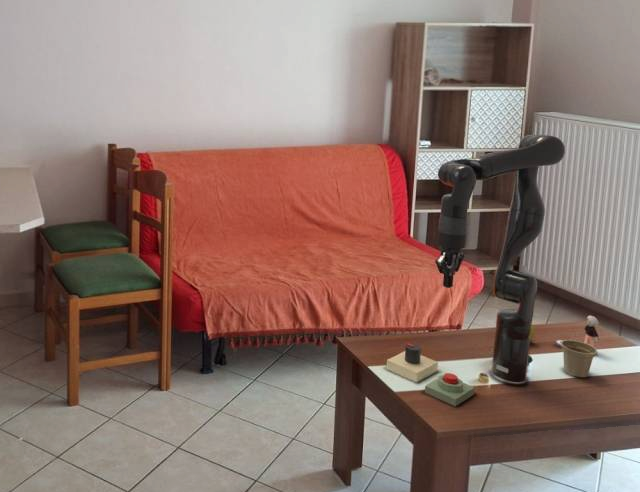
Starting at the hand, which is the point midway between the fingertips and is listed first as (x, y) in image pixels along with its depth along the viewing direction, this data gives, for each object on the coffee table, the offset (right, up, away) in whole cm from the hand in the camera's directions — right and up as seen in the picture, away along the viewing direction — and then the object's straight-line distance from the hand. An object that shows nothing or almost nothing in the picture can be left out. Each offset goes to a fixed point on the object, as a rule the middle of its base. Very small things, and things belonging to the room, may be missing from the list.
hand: (447, 286), depth 203 cm
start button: (-2, -26, -5) cm, 27 cm away
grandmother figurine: (+57, -28, +23) cm, 68 cm away
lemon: (+40, -27, +30) cm, 56 cm away
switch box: (-2, -30, -5) cm, 30 cm away
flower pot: (+44, -29, +9) cm, 54 cm away
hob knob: (-7, -25, +8) cm, 27 cm away
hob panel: (-7, -28, +9) cm, 30 cm away
